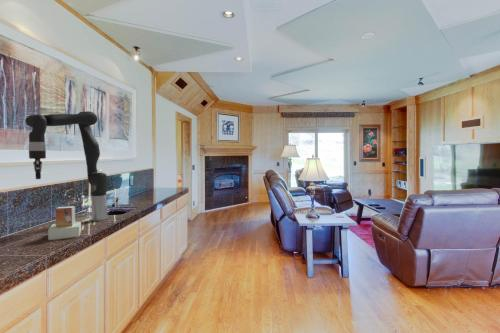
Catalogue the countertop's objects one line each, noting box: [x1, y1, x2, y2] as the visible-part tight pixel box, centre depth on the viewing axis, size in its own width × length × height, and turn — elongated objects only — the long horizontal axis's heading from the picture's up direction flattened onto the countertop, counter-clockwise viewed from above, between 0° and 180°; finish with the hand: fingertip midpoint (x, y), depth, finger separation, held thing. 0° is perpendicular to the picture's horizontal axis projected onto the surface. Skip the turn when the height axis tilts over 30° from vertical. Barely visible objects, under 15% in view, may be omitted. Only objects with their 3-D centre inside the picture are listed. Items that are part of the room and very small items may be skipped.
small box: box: [55, 205, 76, 227], centre depth 154 cm, size 8×6×10 cm
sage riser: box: [47, 221, 82, 241], centre depth 155 cm, size 14×14×6 cm
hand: (38, 178), depth 155 cm, fingers open, 8 cm apart
